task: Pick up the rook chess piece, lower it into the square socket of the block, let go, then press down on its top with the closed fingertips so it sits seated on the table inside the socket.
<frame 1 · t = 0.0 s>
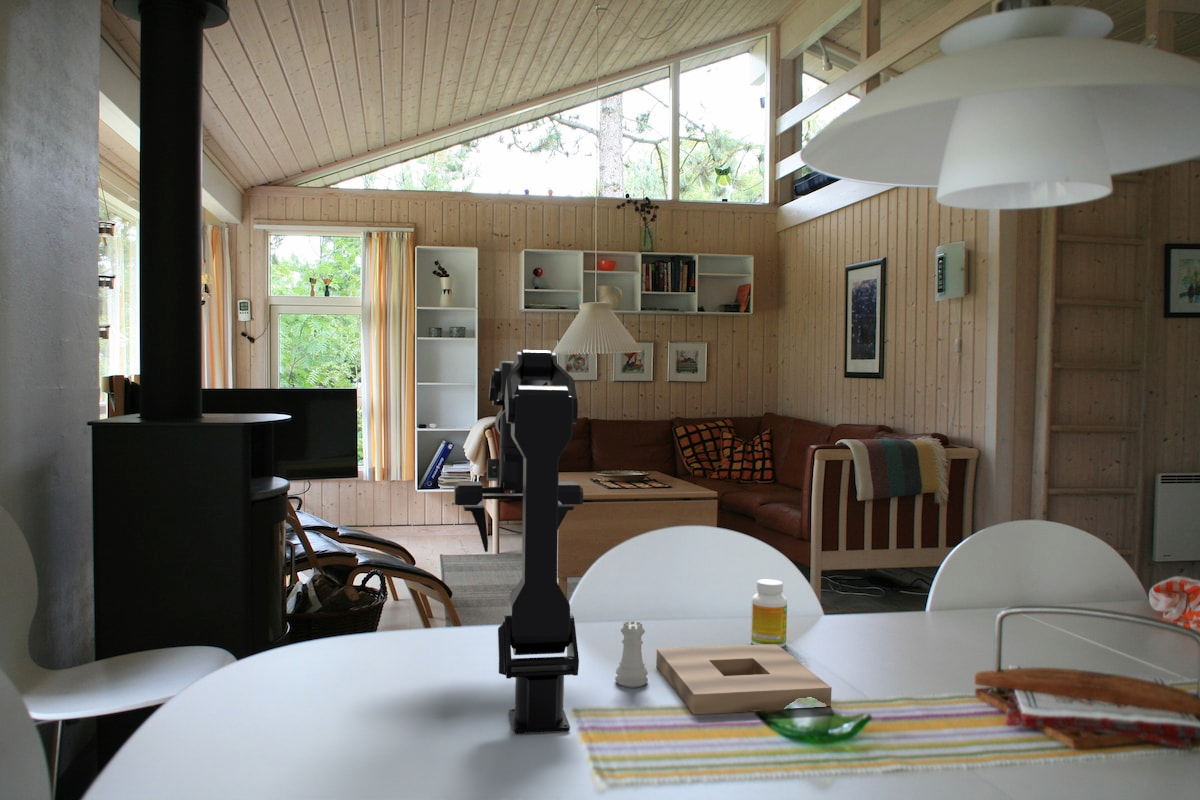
hand: (517, 550, 133), 15 cm above the table, tool pointing down, fingers open, 9 cm apart
socket block: (738, 685, 119), on the table
supplement bottle: (768, 645, 138), on the table
rook chess piece: (631, 684, 120), on the table
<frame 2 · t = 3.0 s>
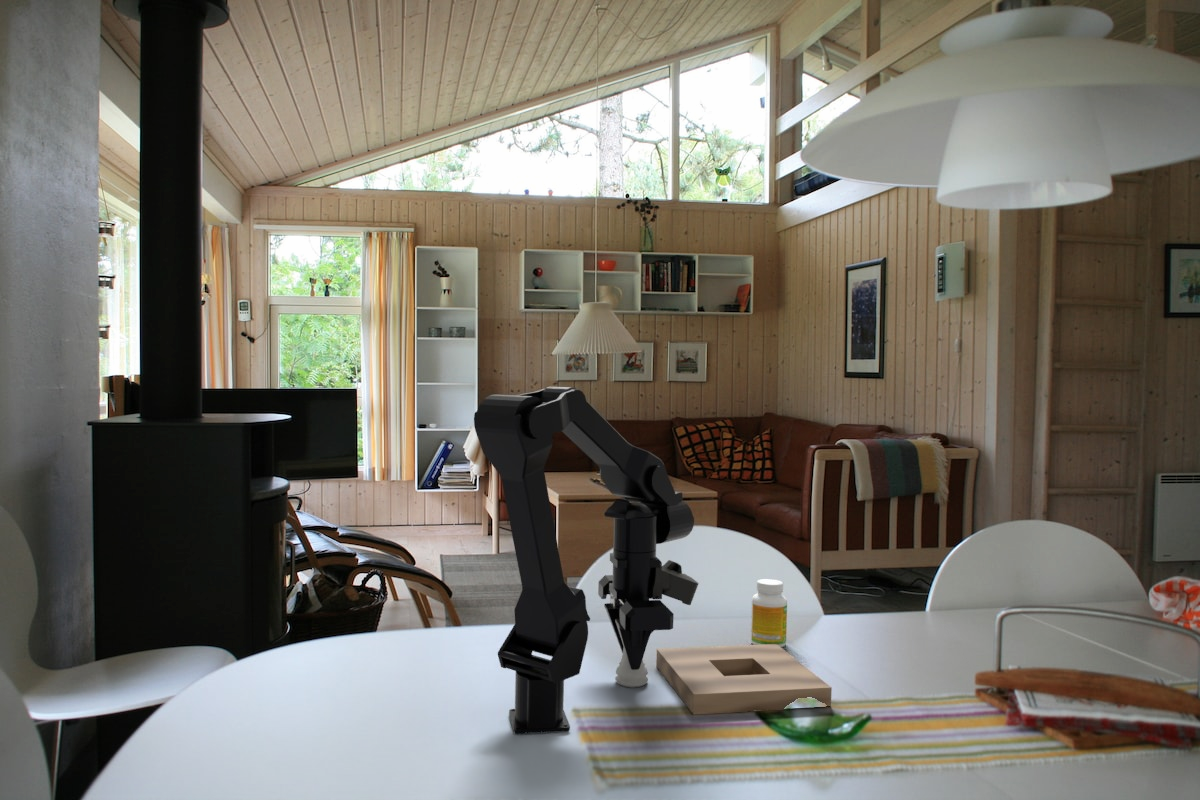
hand: (631, 664, 120), 2 cm above the table, tool pointing down, fingers closed on rook chess piece, 3 cm apart
rook chess piece: (631, 683, 120), on the table, touching gripper
everything else where it was.
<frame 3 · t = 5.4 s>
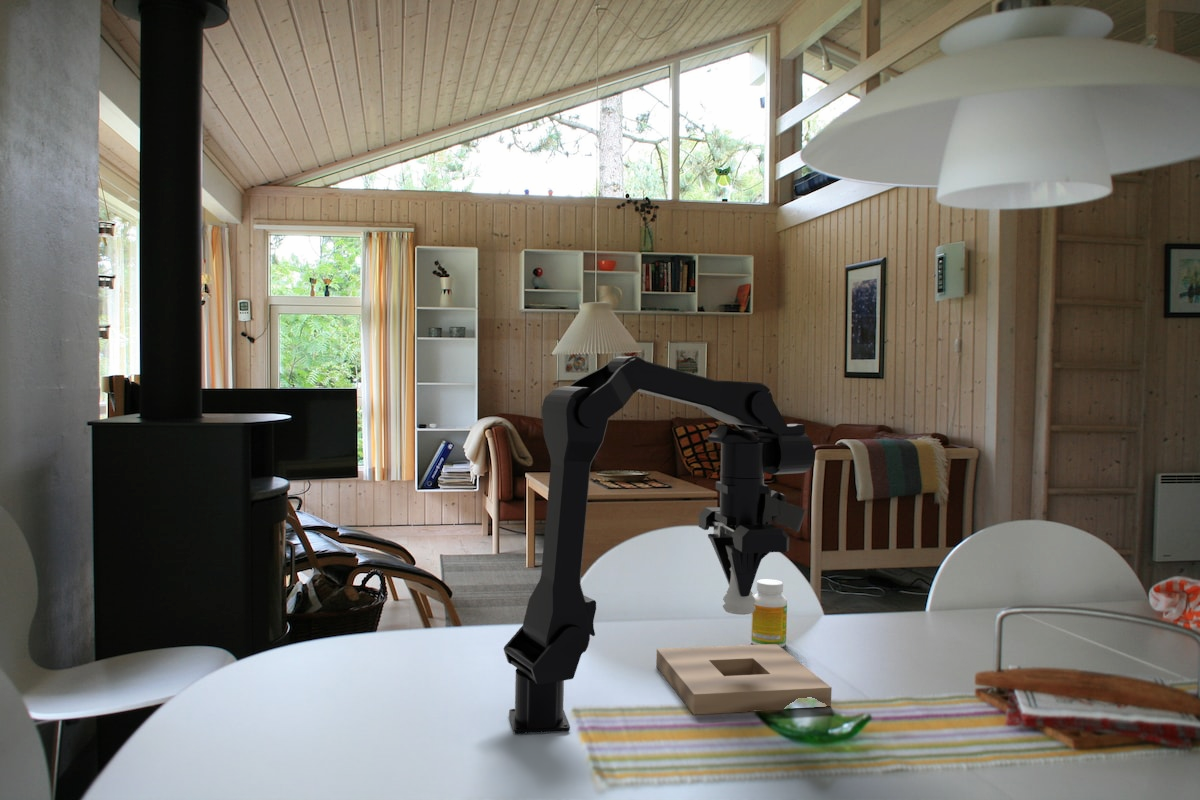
hand: (739, 592, 119), 12 cm above the table, tool pointing down, fingers closed on rook chess piece, 3 cm apart
rook chess piece: (739, 612, 119), point 10 cm above the table, touching gripper
everything else where it was.
when the fingers open (3 cm above the table, at t = 7.9 s): rook chess piece stays where it is, resting in socket block.
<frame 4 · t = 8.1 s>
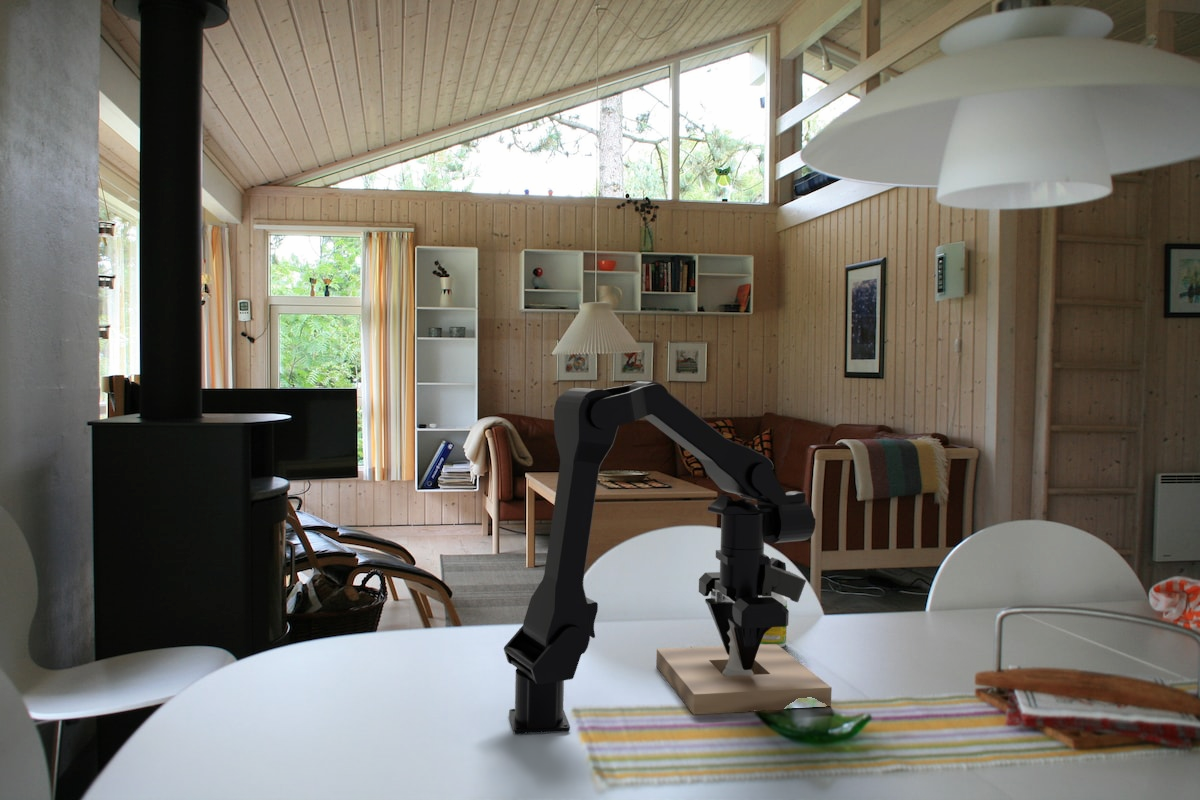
hand: (738, 661, 119), 3 cm above the table, tool pointing down, fingers open, 6 cm apart
rook chess piece: (737, 687, 119), resting in socket block
everything else where it was.
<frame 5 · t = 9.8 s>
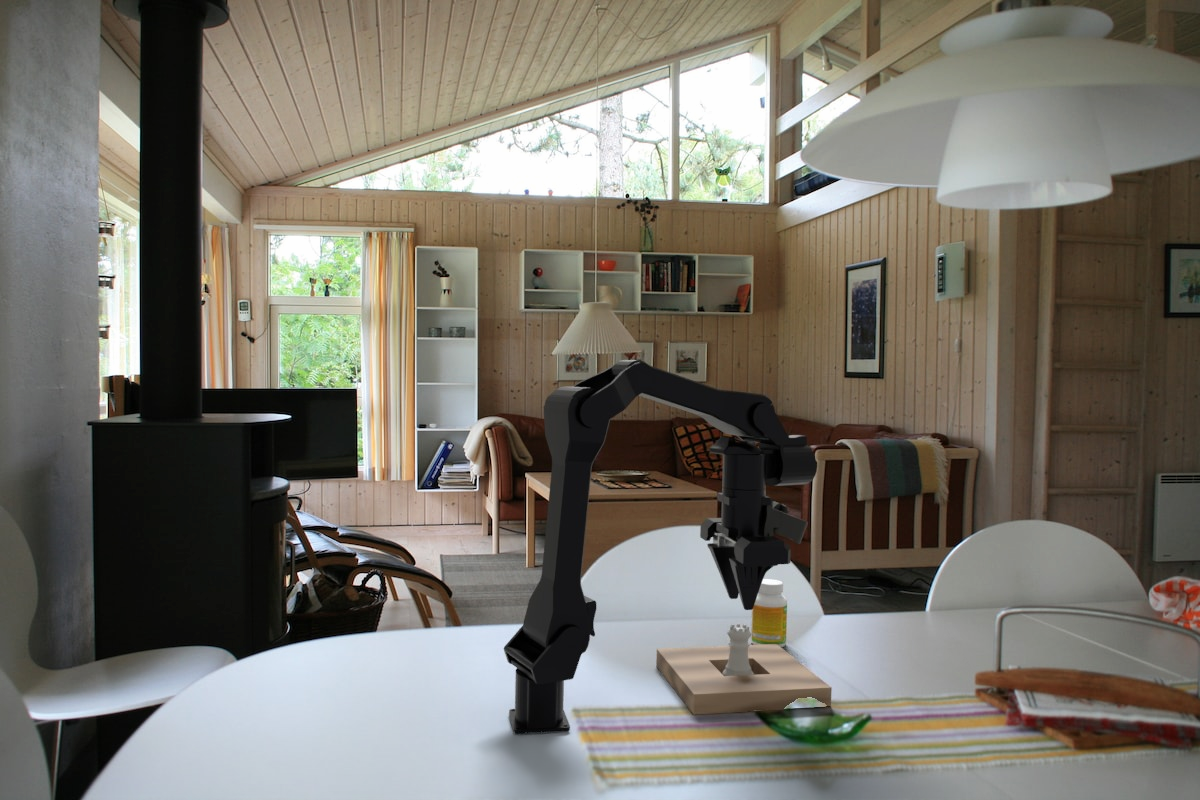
hand: (740, 603, 119), 11 cm above the table, tool pointing down, fingers open, 5 cm apart
nothing on the table moved.
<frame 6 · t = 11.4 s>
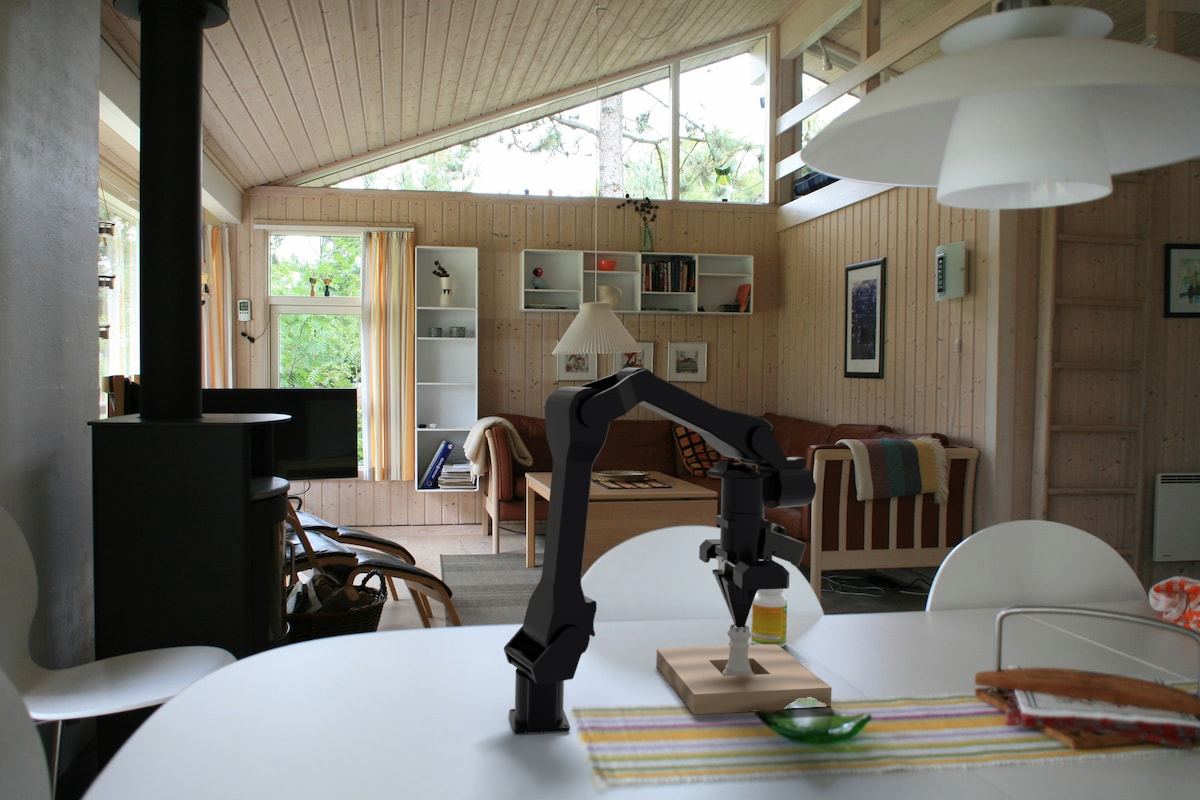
hand: (739, 626, 119), 8 cm above the table, tool pointing down, fingers closed, pressing on rook chess piece
rook chess piece: (737, 687, 119), resting in socket block, touching gripper
everything else where it was.
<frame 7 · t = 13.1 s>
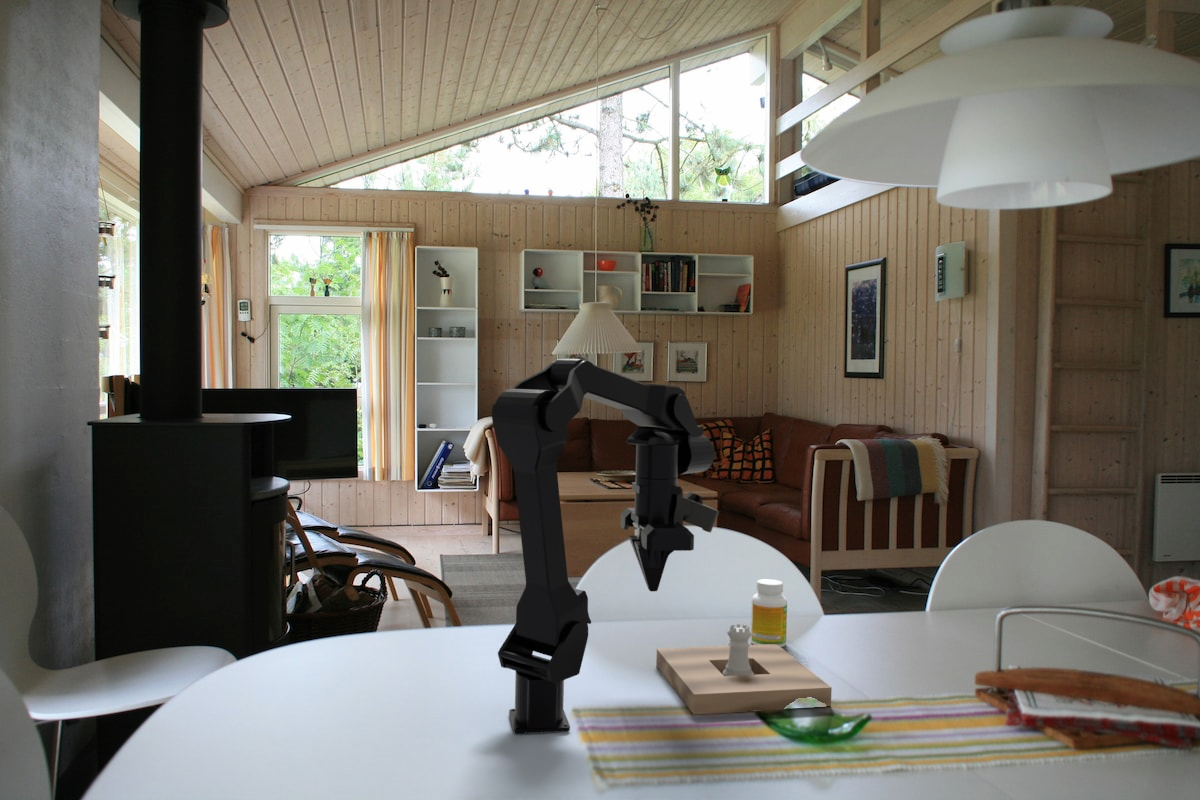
hand: (652, 590, 122), 12 cm above the table, tool pointing down, fingers closed
rook chess piece: (737, 687, 119), resting in socket block
everything else where it was.
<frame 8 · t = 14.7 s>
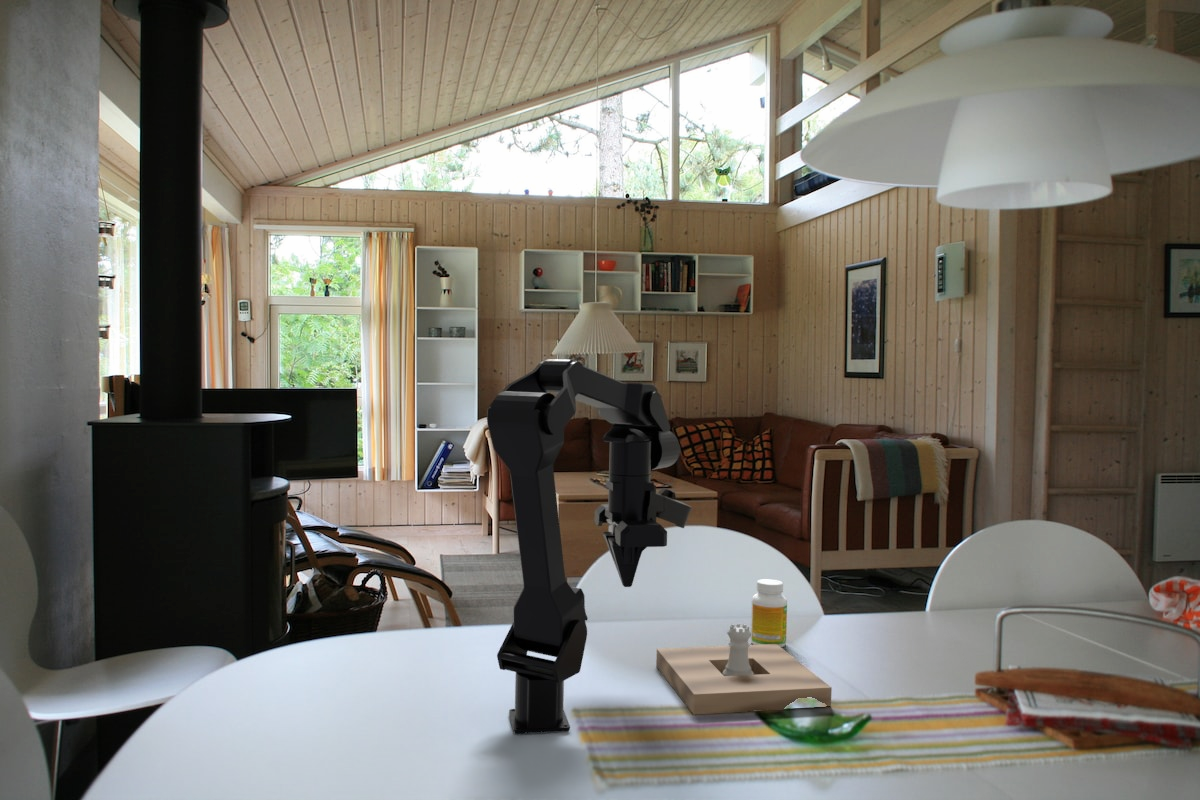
hand: (627, 586, 123), 12 cm above the table, tool pointing down, fingers closed
nothing on the table moved.
at the end: rook chess piece 0.1 cm off-centre on the socket block, point 0.0 cm above the socket block's base; rook chess piece tilted 0°; the gripper is holding nothing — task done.
